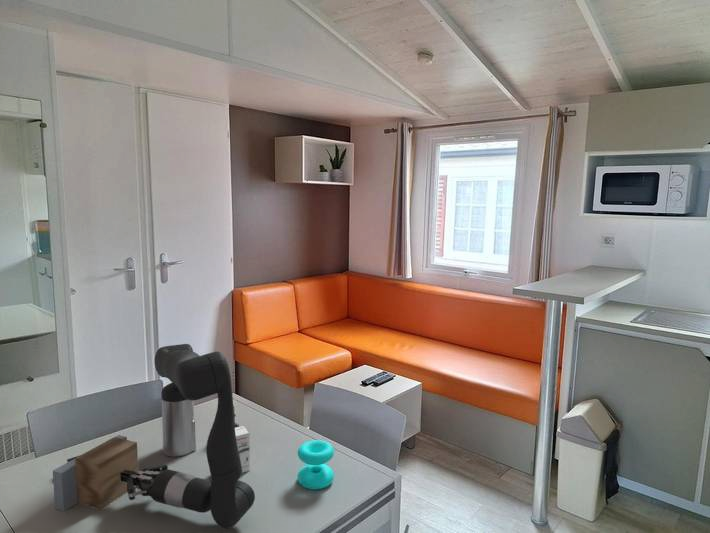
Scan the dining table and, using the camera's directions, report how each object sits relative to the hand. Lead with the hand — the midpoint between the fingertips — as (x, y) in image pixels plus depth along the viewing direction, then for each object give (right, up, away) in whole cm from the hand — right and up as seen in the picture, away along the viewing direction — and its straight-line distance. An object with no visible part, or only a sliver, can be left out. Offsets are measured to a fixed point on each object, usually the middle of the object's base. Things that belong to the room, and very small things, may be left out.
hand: (122, 474), depth 122 cm
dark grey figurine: (+19, -3, +34) cm, 39 cm away
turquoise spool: (+49, -6, +9) cm, 50 cm away
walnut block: (-5, -6, +2) cm, 8 cm away
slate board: (-10, -5, +4) cm, 12 cm away
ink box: (+25, -5, +13) cm, 29 cm away
